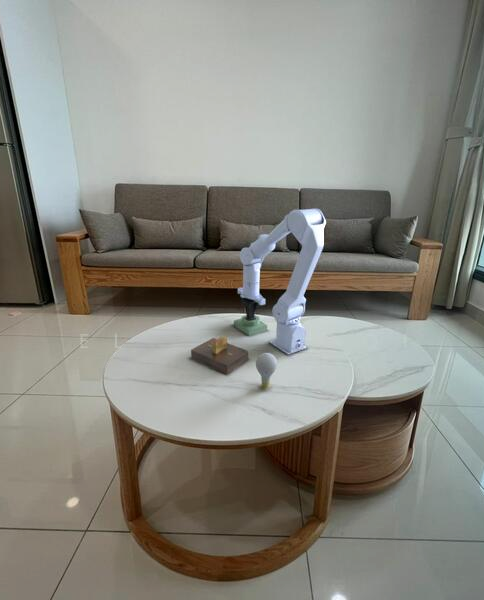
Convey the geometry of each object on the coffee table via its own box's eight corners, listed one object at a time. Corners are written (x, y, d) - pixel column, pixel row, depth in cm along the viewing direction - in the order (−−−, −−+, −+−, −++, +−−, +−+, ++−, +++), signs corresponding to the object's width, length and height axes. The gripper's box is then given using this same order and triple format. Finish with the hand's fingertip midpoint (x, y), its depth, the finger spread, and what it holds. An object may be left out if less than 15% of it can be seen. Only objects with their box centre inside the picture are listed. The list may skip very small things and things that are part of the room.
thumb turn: (223, 346, 98) (222, 334, 97) (227, 347, 98) (227, 336, 96) (212, 352, 94) (211, 341, 93) (216, 354, 94) (215, 342, 92)
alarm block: (267, 330, 116) (267, 320, 115) (248, 336, 112) (249, 325, 111) (251, 321, 124) (251, 311, 123) (233, 325, 120) (233, 315, 118)
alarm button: (257, 322, 117) (257, 318, 116) (249, 324, 115) (249, 320, 114) (251, 319, 119) (251, 314, 119) (243, 321, 117) (243, 316, 117)
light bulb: (250, 388, 84) (251, 354, 80) (263, 379, 88) (265, 346, 84) (266, 396, 81) (268, 362, 77) (279, 387, 85) (282, 354, 81)
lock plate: (248, 359, 97) (248, 350, 96) (227, 374, 90) (227, 364, 88) (213, 345, 105) (213, 337, 104) (191, 358, 97) (190, 349, 96)
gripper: (230, 278, 115) (230, 313, 120) (253, 289, 104) (252, 327, 109) (247, 275, 119) (246, 309, 124) (270, 285, 108) (269, 322, 113)
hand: (250, 317), depth 116 cm, fingers closed, pressing on alarm button
